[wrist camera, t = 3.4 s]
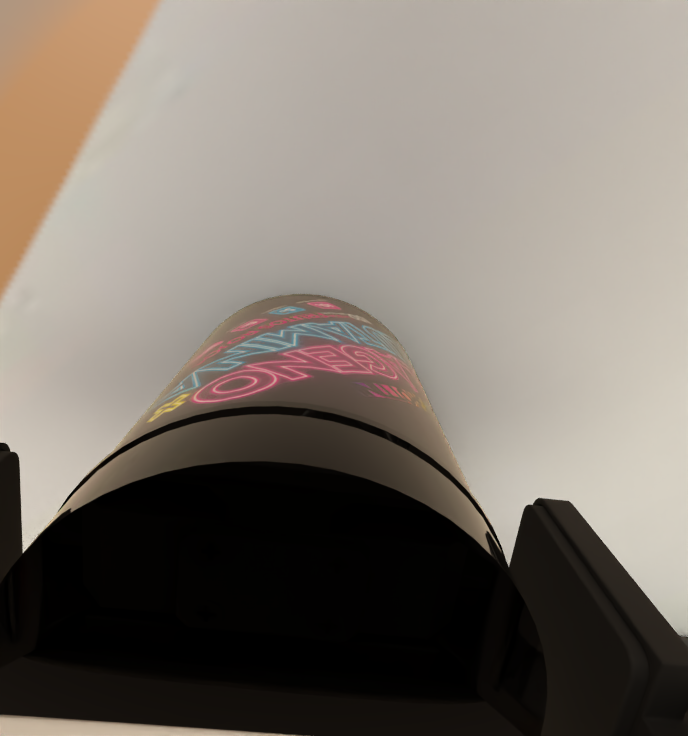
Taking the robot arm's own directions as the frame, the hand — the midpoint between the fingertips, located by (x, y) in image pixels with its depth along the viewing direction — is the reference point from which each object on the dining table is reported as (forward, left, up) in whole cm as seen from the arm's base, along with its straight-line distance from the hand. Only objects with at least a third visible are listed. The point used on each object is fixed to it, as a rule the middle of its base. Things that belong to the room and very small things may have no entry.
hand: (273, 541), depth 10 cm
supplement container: (0, 0, -7) cm, 7 cm away
